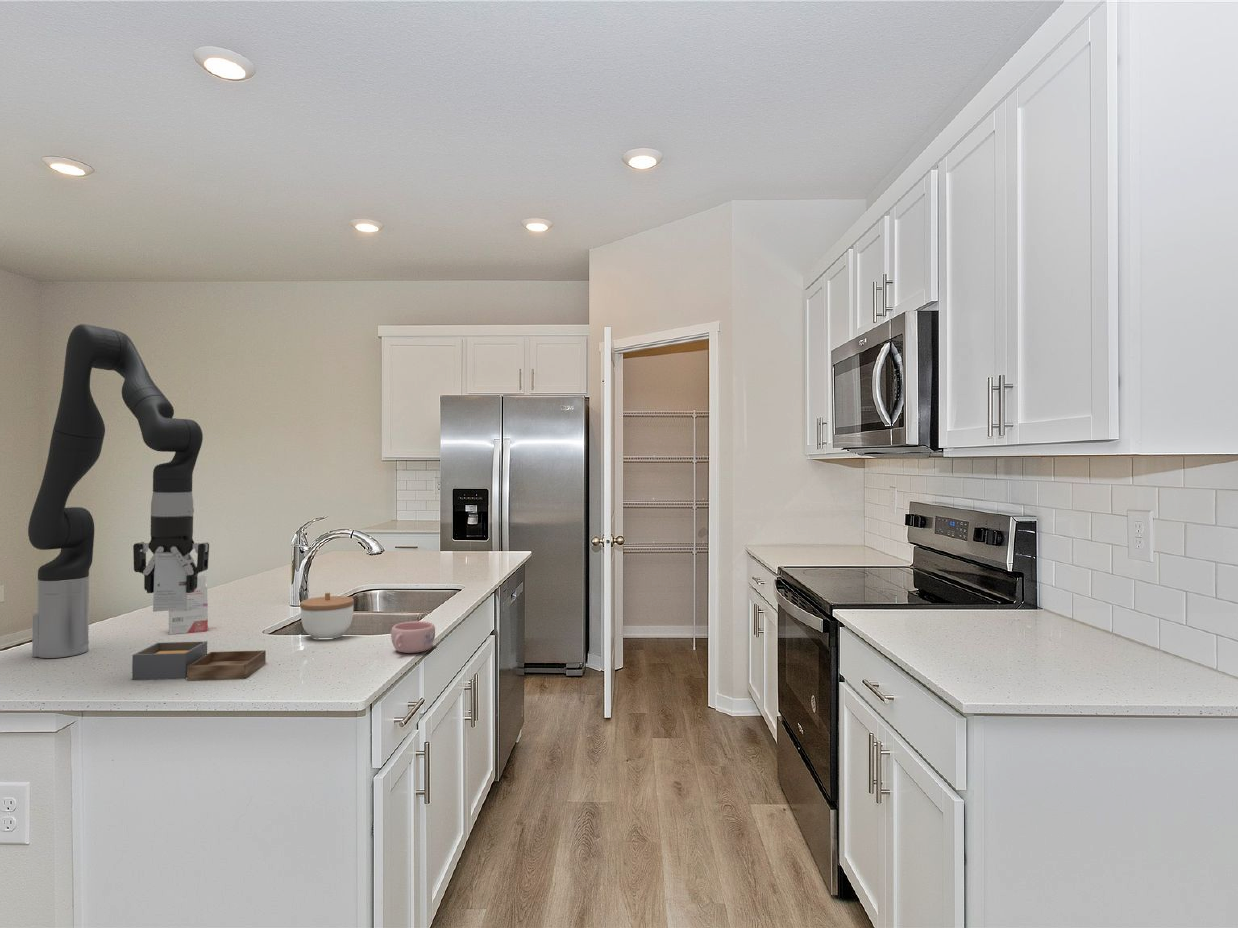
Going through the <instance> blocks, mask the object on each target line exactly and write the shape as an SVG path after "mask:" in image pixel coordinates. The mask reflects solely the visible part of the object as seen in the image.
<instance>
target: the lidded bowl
mask: <svg viewBox="0 0 1238 928" xmlns="http://www.w3.org/2000/svg"><path fill="white" fill-rule="evenodd" d="M354 604H355V599H354V598H353V597H350V596H342V595H341V596H340V595H331V593H330V592H325V593H324V596H319V597H312V598H307V599H304V600H301V602H300V605H299V606H300V620H301V625H302V627H303V629H304V631H305V632H306V633H307V634H308V635H309V636H311V639H312V638H317V639H314V640H317V641H328V640H331V639H318V638H336V639H339V638H342V637H343V634H345V632H347V630H349V628H350V626H351V625H352V624H351V623H352V620H353V616H354ZM338 637H339V638H338Z"/></svg>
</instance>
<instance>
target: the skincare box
mask: <svg viewBox="0 0 1238 928" xmlns="http://www.w3.org/2000/svg"><path fill="white" fill-rule="evenodd" d="M184 557H185V559H186V560H189V552H188V553H187V555H185V556H184ZM187 575H188V573H187V572H186V570H185V569H184V567H182V566H181V564H180V563H179V561H178V560H177V558H176V557H175V555H173V553H172V552H162V553H156V554H155V571H154V592H153V599H152V601H153V602H152V604H153V605H152V611H153V613H154V612H155V613H156V612H167V611H168V612H169V611H170V610H184V609H186V608H187V593H186V576H187Z"/></svg>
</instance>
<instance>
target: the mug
mask: <svg viewBox="0 0 1238 928" xmlns="http://www.w3.org/2000/svg"><path fill="white" fill-rule="evenodd" d="M435 638H436V627H435V624H433V623H432V622H429V621H417V620H413V621H405V622H400V623H395V624H394V625H393V626H392V628H391V631H390V639H391V643H392V646H393V647H394V649H395V650H396V651H397V652H399V653H404V654H416V653H421V652H425V651H427V650H430V648H431V647H432V646H433V644H434V642H435Z"/></svg>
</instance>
